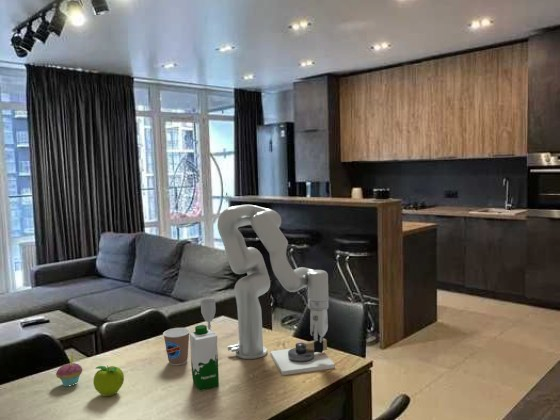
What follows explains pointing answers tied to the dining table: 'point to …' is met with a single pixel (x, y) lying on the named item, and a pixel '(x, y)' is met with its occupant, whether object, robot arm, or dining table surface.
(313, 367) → the base plate
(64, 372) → the cupcake
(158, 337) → the dining table surface
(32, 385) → the dining table surface
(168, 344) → the coffee cup
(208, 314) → the chalice
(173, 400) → the dining table surface
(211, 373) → the milk carton
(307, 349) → the cam dial
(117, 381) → the fruit
